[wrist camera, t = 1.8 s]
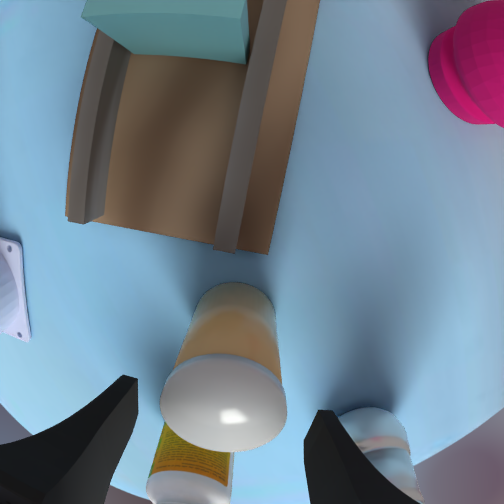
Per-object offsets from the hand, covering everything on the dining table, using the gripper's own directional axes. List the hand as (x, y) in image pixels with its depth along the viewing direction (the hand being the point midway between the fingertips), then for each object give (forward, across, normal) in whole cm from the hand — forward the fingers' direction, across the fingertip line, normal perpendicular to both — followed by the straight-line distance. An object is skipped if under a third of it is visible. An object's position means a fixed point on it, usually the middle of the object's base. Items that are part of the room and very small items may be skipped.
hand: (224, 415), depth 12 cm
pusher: (+7, +5, -14) cm, 17 cm away
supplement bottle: (+8, +1, +10) cm, 13 cm away
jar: (+8, 0, 0) cm, 8 cm away
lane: (+8, +5, -13) cm, 16 cm away
